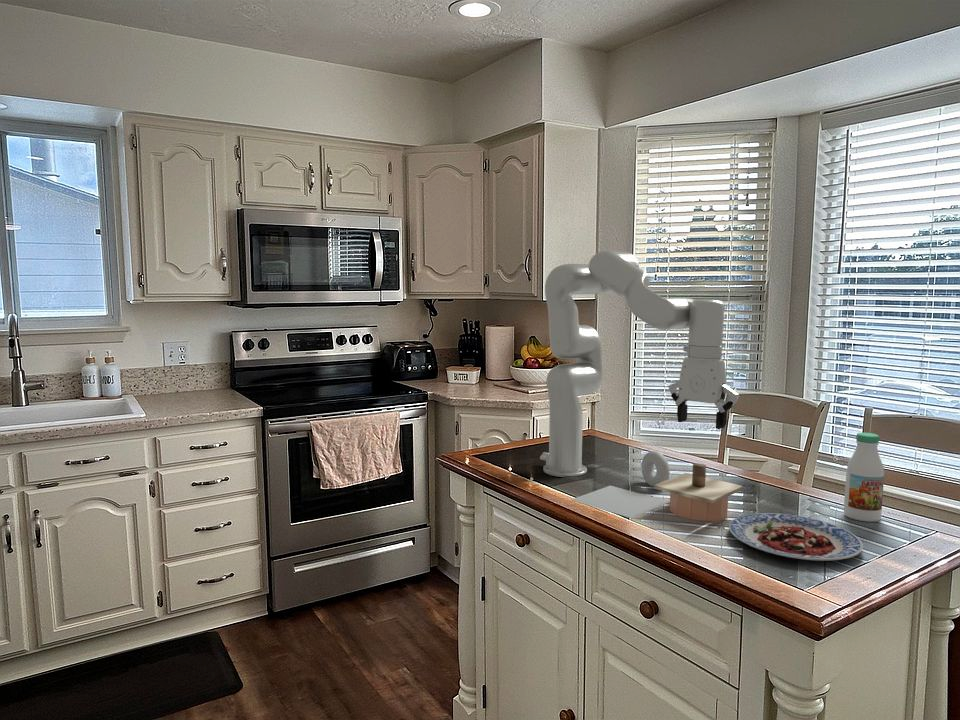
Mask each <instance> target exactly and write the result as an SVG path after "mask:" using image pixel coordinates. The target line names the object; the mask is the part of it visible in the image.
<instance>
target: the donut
mask: <svg viewBox="0 0 960 720" xmlns="http://www.w3.org/2000/svg"><path fill="white" fill-rule="evenodd" d="M654 467H655V468H654ZM655 469H656V472H655ZM640 471H641V474H642V478H643V479H644V481H645V483H646V484H647V485H648V486H650V487H653V488H654V485H656V484H658V483H661V482H663V481H666V480H669V479H670V465H669V462H668V460H667V458H666V457H665V455H664V454H663V453H661V452H659V451H658V450H657V451H656V450H650V451H648V452H646V453H645V454H644V455H643V458H642V461H641V464H640Z"/></svg>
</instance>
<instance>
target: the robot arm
mask: <svg viewBox="0 0 960 720" xmlns="http://www.w3.org/2000/svg"><path fill="white" fill-rule="evenodd" d="M544 284H545V285H544V295H545V299H546V300H545V302H546V306H547V310H548V312H547V313H548V333H549V334H548V335H549V347H550V352H551V354H552V356H553V357H555V358H556V359H560V360H570V359H575V362H573V363H571V362H570V363H563V364H562V363H561V364H558V365H556V366H554V367H552V368H551V369H550V370H549V371H548V373H547V376H546V379H545V381H546V388H547V394H548V401H549V403H548V404H549V407H548V408H549V415H548V417H549V429H548V430H549V431H548V433H549V434H548V435H549V436H548V437H549V438H548V452H546V451H543V452H542V453H541V455H540V456H539V460H541V461H544V462H545V465H543V472H544V473H545V474H547V475H548V476H554V477H559V478H561V477H562V478H566V477H577V476H582V475H584V474H586V473H587V472H588V468H587V466H585V465H583V464H582V463H583V459H582V458H583V423H584V422H583V420H584V418H583V408H582V405H581V402H580V400H579V398H578V397H579V396H586V395H590V394H594V393H595V392H597V391H598V390H600V388H601V386H602V383H603V357H602V356H603V355H602V354H603V353H602V343H601V342H602V341H601V337H600V335H599V333H598V332H597V330H596V329H595V328H594V327H592V326H591V325H587V324H581V325H580V323H579V322H580V321H579V310H578V305H577V304H576V302H575V300H574V298H573V297H572V296H573V295H599V294H602V293H605V292H608V291H612V292H613V293H615V294H617V295H618V296H619V297H621V298H622V299H624V300H625V302H626V305H627V307H628V309H629V310H630V312H631V313H632V314H633V315H634V316H635V317H636V318H639V319H640V320H641V321H642V322H644V323H645V324H647V325H649V326H650V327H652V328H654V329H656V330H657V329H658V330H661V331H670V330H684V329H686V330H688V342H687V343H688V344H687V345H684V346H683V348H682V349H683V350H682V351H683V352H685V353H686V355H687V356H685V357H684V358H683V359H682V365H681V369H680V373H679V374H680V375H679V380H678V381H676V382H674V383H672V384H669V385H668V390H669V392H670V394H671V398H672V400H673V401H674V403H675V405H676V407H677V408H676V409H677V412H676V417H677V422H678V423H683V422H686V421H687V420H688V407H689V405H688V404H687V402H689V401H691V402H692V401H693V402H699V403H705V404H714V405H715V407H716V409H717V410H718V411H717V412H716V414H715V415H716V416H715V429H716V430H722V429H725V426H726V425H727V420H728V419H727V415H728V412H729V411H730V410H731V409H732V408H733V407H735V405H736V403H737V401H738V400H739V398H740V394H739V393H737V392H736V391H735V390H733V389H732V388H730V387H729V386H727V375H726V374H727V373H726V372H727V371H726V365H725V360H724V359H722V355H723V354H722V352H723V335H724V323H725V322H724V318H725V305H724V303H723V302H722V300H717V299H695V298H691V297H690V298H689V297H663V296H661V295H659V294H657V293H656V292H654V291H652V290H651V289H650V288H649V285H650V276H649V274H648V273H647V272H646V271H645V270H643V269H641V268H640V265H639V262H638V259H637V258H636V256H635V255H634V254H632V253H630V252H628V251H621V250H620V251H619V250H602V251H599V252H597V253H595V254H594V255H592V256H591V259H590V260H589V262H588V264H585V263H584V264H583V263H565V264H560V265H558V266H556V267H555V268H553V269H552V270H551V271H550V272H549V274H548V275H547V277H546V279H545V283H544ZM726 395H727V396H728V397H729V399H728V401H727V402H726V401H725V400H726V397H727V396H726Z"/></svg>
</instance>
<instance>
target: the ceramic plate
mask: <svg viewBox="0 0 960 720" xmlns="http://www.w3.org/2000/svg"><path fill="white" fill-rule="evenodd" d="M728 529H729V532H730V533H731V534H732V535H733V537H735V538H736V539H737V540H739V542H742V543H743V544H746V545H747V546H750V547H751V548H755V549H757V550H760V551H763V552H765V553H769V554H773V555H776V556H779V557H780V556H781V557H786V558H792V559H799V560H805V561H818V562H819V561H824V562H825V561H839V560H844V559H850V558H853V557H856V556H857V555H859V554H860V553H861V552H862V551H863V549H864V544H863V542H862V540H861V539H860V538H859V537H858V536H856V535H855V534H854V533H852V532H851V531H849V530H847V529H846V528H842V527H841V526H839V525H836V524H833V523H830V522H827V521H824V520H820V519H817V518H812V517H808V516H807V517H806V516H803V515H795V514H788V513H775V512H774V513H773V512H761V513H750V514H745V515H741V516H738V517H736V518H734V519H732V520H731V521H730V523H729V524H728Z"/></svg>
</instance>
